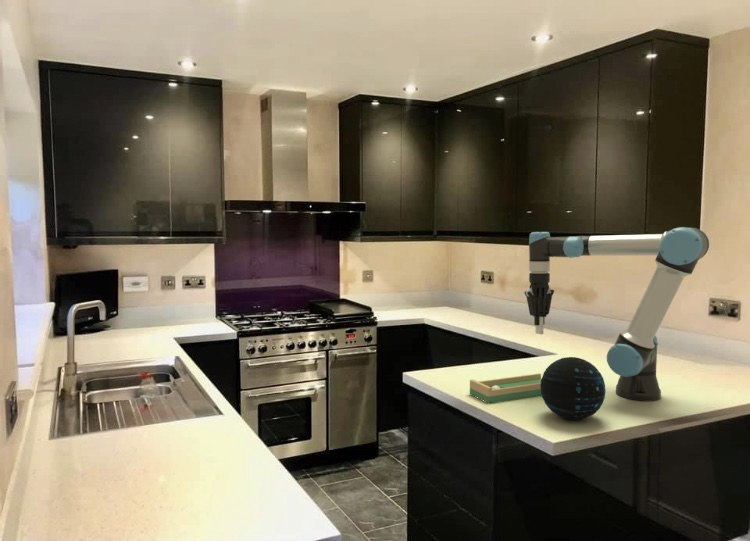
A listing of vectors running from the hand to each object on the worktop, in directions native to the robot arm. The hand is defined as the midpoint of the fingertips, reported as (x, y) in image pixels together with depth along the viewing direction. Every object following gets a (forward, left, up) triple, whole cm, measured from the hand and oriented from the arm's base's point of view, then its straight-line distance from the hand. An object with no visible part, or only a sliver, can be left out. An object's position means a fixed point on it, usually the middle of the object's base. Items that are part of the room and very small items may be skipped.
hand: (539, 333), depth 218 cm
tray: (-3, +13, -21) cm, 25 cm away
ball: (-3, +22, -19) cm, 29 cm away
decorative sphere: (-33, +13, -21) cm, 41 cm away
